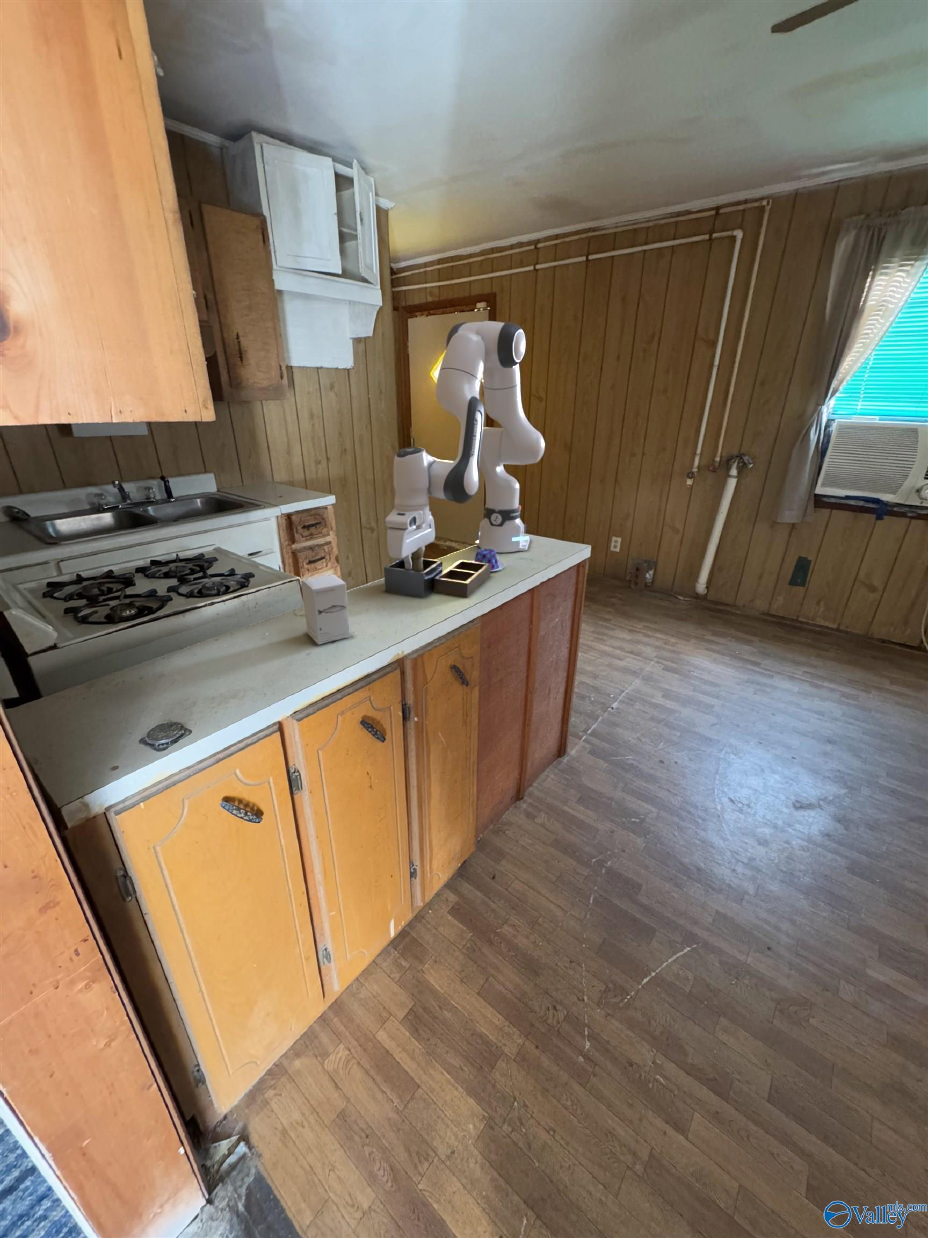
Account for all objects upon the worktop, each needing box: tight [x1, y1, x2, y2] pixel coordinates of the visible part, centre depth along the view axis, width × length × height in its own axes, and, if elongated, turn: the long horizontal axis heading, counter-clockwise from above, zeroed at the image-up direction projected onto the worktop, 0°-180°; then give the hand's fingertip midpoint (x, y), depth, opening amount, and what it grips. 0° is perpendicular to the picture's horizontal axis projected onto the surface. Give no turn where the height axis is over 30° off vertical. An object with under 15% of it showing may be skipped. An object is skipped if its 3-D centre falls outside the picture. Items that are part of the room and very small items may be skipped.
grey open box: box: [383, 557, 443, 599], centre depth 136 cm, size 12×12×7 cm
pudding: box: [471, 548, 506, 572], centre depth 153 cm, size 12×12×5 cm
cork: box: [405, 547, 424, 572], centre depth 135 cm, size 6×6×11 cm
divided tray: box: [433, 559, 492, 598], centre depth 139 cm, size 18×10×4 cm, turn 158°
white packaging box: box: [300, 573, 351, 645], centre depth 107 cm, size 7×7×13 cm
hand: (413, 565), depth 135 cm, fingers closed on cork, 4 cm apart
